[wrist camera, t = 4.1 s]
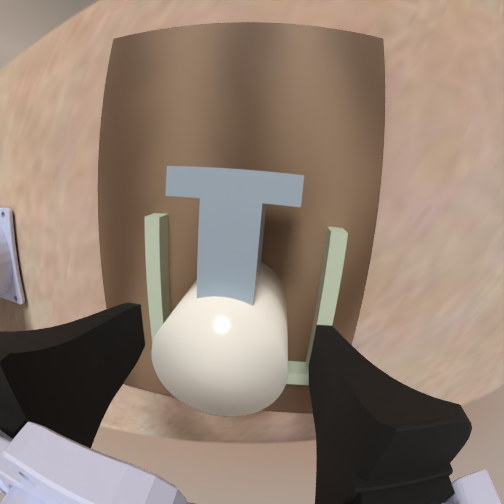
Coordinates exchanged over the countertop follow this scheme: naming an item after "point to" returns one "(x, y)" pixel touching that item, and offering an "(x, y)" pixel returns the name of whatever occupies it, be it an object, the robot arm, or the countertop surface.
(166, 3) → the countertop surface
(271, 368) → the white blue t-bar grip
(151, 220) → the cradle
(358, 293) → the board
